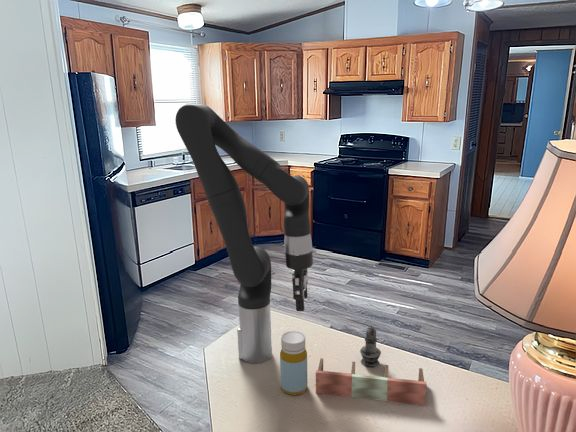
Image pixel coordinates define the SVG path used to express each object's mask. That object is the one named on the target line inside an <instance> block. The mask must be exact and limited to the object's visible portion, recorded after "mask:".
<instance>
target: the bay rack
mask: <svg viewBox="0 0 576 432" xmlns="http://www.w3.org/2000/svg"><path fill="white" fill-rule="evenodd" d="M350 371H351V372H350V373H347V372H339V371H338V372H337V371H331V370H330V371H328V370H324V358H322V357H321V358H319V363H318V368H317V369H316V370H315V394H325V395H331V396H341V397H350V398H358V399H366V400H367V399H368V400H377V401H382V402H383V401H386V402H393V403H400V404H401V403H402V404H409V405H418V406H426V398H427V397H426V396H427V381H425V377H424V373H423V372H424V371H423V368H421V367H420V368H418V378H417V379H418V380H415V379H413V380H412V379H403V378H395V377H390V376H389V365H388V364H385V365H384V376H374V375H366V374H365V375H364V374H356V361H351V370H350Z"/></svg>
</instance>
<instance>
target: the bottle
mask: <svg viewBox="0 0 576 432" xmlns="http://www.w3.org/2000/svg"><path fill="white" fill-rule="evenodd" d="M280 341H281V342H280V343H281V350H280V352H279V366H280V367H279V368H280V370H279V372H280V389H281V390H282V391H283V392H284V394H287V395H290V396H299V395H301V394H303V393H305V391H306V390H307V389H308V351H307V349H306V335H305V334H304V333H303V332H301V331H299V330H289V331H287V332H284V333H283V334H282V335H281V337H280Z"/></svg>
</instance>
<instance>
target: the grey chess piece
mask: <svg viewBox="0 0 576 432" xmlns="http://www.w3.org/2000/svg"><path fill="white" fill-rule="evenodd" d="M365 333H366V334H365V337H364V341H365V346H363V347H361V348H360V351H359V352H360V355H361V357H362V359H361V360H360V364H361V365H362V366H363V367H366V368H369V369H373V368H374V369H375V368H378V367H379V366H380V360H379V358H380V357H381V355H382V351H381V350H380V348H378V347H377V342H378V338H377V329H376V328H375V327H373V325H372V324H370V326H369V327H367V328H366V330H365Z"/></svg>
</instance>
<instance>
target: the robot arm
mask: <svg viewBox="0 0 576 432" xmlns="http://www.w3.org/2000/svg"><path fill="white" fill-rule="evenodd" d="M175 127H176V129H177V132H178V134H179V137H180V139H181V140H182V142H183V144H184V146H185V148H186V150H187V152H188V153H189V156H190V158H191V160H192V162H193V164H194V168H195V170H196V172H197V175H198V178H199V181H200V183H201V186H202V189H203V191H204V194H205V197H206V199H207V203H208V204H209V207H210V209H211V212H212V214H213V216H214V219H215V222H216V224H217V226H218V230H219V232H220V234H221V237H222V239H223V242H224V244H225V248H226V252H227V255H228V258H229V262H230V266H231V270H232V273H233V275H234V277H235V279H236V280H237V282H239V284H240V285H239V291H238V295H237V303H238V304H237V305H238V319H239V320H238V321H239V323H238V324H239V327H238V328H237V350H238V359H240V360H243V361H244V362H247V363H249V364H261V363H264V362H267V361H268V360H269V359H271V357H272V355H273V352H272V351H273V349H272V348H273V347H272V320H271V319H272V317H271V315H272V314H271V293H272V261H271V257H270V255H269V253H268V252H267V251H266V250H265V249H264V248H262V247H260V246H254V244H253V242H252V238H251V235H250V233H249V227H248V226H249V225H248V216H247V209H246V203H245V199H244V195H243V194H242V191H241V188H240V186H239V183H238V181H237V179H236V177H235V175H234V174H233V172H232V171H231V169H230V168H229V166H228V165H227V164H226V163H225V161H224V160H223V158H222V157H221V156H220V155H221V154H220V153H219V152H218V148H220V149H221V150H222V151H224V152H225V153H226V154H227V155H228V156H229V157H230V158H231V159H232V160H233V162H235V164H237V165H238V166H239V167H240V169H241V170H242V171H244V172H246V174H247V175H250V176H251V177H252V178H253V179H256V181H258V182H259V183H261V184H263V185H264V186H265V187H266V188H267V189H268V190H269V191H270V192H271V193H272V195H274V196H275V197H276V198H277V199H279V200H280V201H282V202H283V203H284V204H285V205H284V206H285V207H284V208H285V211H284V216H283V229H284V231H283V233H284V257H285V259H284V260H285V266H286V268H288V269H290V270H292V271H293V273H292V275H291V281H292V282H291V283H292V294H293V295H292V298H293V300H295V310H296V312H304V311H305V299H307V298H308V281H309V276H308V275H309V272H308V271H309V270H308V269H309V268H311V267H312V266H313V265H314V259H313V256H314V255H313V242H312V235H311V225H310V224H311V223H310V215H309V213H310V212H309V210H310V186H309V184H308V181H307V179H305V178H304V177H302V176H301V175H291V174H290V173H288V172H287V171H286V170H284V169H283V168H282V166H281V164H280V163H279V162H278V161H276V160H275V159H274V158H273V157H271V156H270V155H268V153H265V152H264V151H262V150H261V149H260V148H258V147H256V145H254V144H253V143H251V142H250V141H248V140H247V139H246V138H244V137H243V136H241V134H239V133H238V132H236V130H234V129H233V128H232V127H231V126H230V125H229V124H228V123H226V122H225V120H223V118H222V117H220V115H218V114H217V112H215V111H214V110H213V109H212V108H211V107H210V106H208V105H206V104H202V103H189V104H188V103H187V104H185V105H182V106H180V107H179V109H177V111H176V115H175ZM216 146H217V147H218V148H217V147H216ZM298 292H299V294H298Z"/></svg>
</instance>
